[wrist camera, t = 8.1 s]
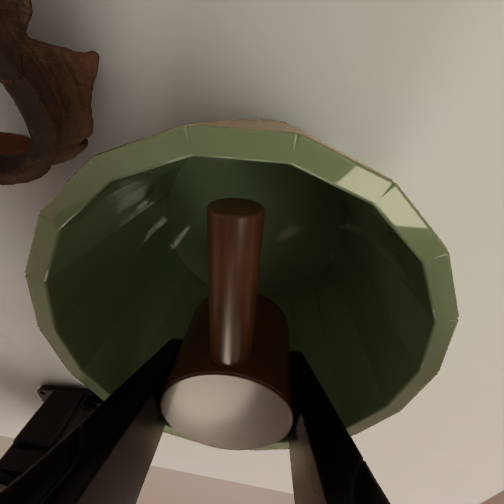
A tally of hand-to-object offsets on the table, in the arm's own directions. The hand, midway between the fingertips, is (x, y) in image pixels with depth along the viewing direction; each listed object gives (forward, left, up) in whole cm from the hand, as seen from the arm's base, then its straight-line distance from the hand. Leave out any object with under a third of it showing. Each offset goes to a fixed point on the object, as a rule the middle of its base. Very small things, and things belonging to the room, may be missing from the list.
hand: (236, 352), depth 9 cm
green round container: (+2, 0, -7) cm, 7 cm away
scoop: (+2, 0, -1) cm, 2 cm away
